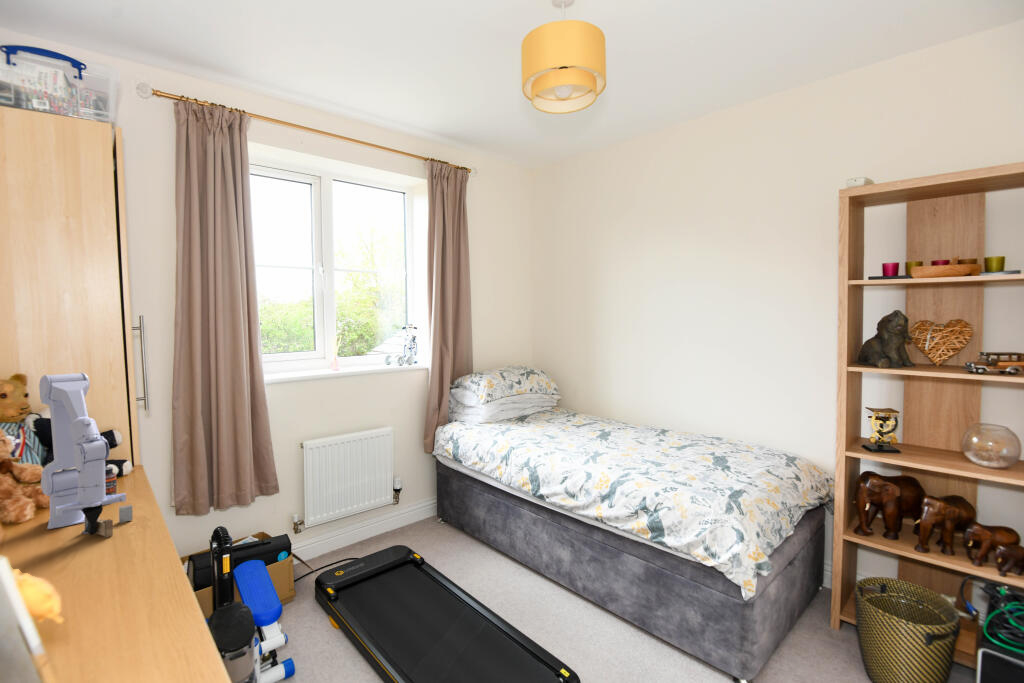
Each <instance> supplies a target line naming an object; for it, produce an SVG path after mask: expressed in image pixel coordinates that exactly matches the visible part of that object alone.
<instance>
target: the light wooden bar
mask: <svg viewBox="0 0 1024 683" xmlns="http://www.w3.org/2000/svg"><path fill="white" fill-rule="evenodd" d="M113 524H114V523H113V519H109V518H108V519H103V518H98V520H97V522H96V534H95V535H100V536H103V538H109V537H112V536H114V530H113V529H114V528H113V527H114V525H113Z"/></svg>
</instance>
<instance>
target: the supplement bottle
mask: <svg viewBox="0 0 1024 683" xmlns="http://www.w3.org/2000/svg"><path fill="white" fill-rule="evenodd" d="M113 471H114V469H113V467H112V466H105V483H106V496H107V495H115V494H118V493H117V490H118V489H117V485H118V484H117V474H116V473H115V472H113Z"/></svg>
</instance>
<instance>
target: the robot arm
mask: <svg viewBox="0 0 1024 683" xmlns="http://www.w3.org/2000/svg"><path fill="white" fill-rule="evenodd" d="M38 389H39V398H40V401H41V402H40V403H41V404H43V405H47V406H48V408H49V413H50V414H49V415H50V425H51V437H52V450H53V451H52V452H53V453H52V454H53V460H52V461H51V462H50V463H49V464H47V465H46V466H45V467H44V468H42V470H41V479H40V487H41V492H42V493H43V495H45V496H48V497H49V518H48V524H47V528H46V529H47V530H52V529H57V528H58V529H59V528H63V527H67V526H73V525H78V524H82V523H85V521H84V517H86V518H87V520H88V534H87V535H89V536H93V535H97V534H96V522H97V520H98V518H99V517H100V516H101V514H102V512H103V510H104V509H103V506H106V505H110V504H114V503H120V502H123V503H124V502H126V501H127V494H126V493H125V492H122V493H117V494H115V495H107V496H106V483H105V467H106V460H108V458H109V456H110V445H109V442H108V440H107V439H106V438H105V437H104V435H101V432H100V431H99V428H98V425H97V422H96V420H95V419H94V418H92V417H89V414H88V412H89V411H88V409H87V405H86V400H85V399H86V398H85V397H86V396H87V395H88V391H89V389H90V378H89V376H88V375H87V374H86V373H85V372H79V373H64V374H62V373H61V374H50V375H49V374H44V375H43V376H41V377H40V380H39V386H38ZM99 519H100V518H99Z"/></svg>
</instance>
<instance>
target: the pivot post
mask: <svg viewBox="0 0 1024 683" xmlns="http://www.w3.org/2000/svg"><path fill="white" fill-rule="evenodd" d="M84 521H85V522H84V530H82V532H81V534H82V535H89V534H88V520H87V518H86V517H84Z"/></svg>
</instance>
